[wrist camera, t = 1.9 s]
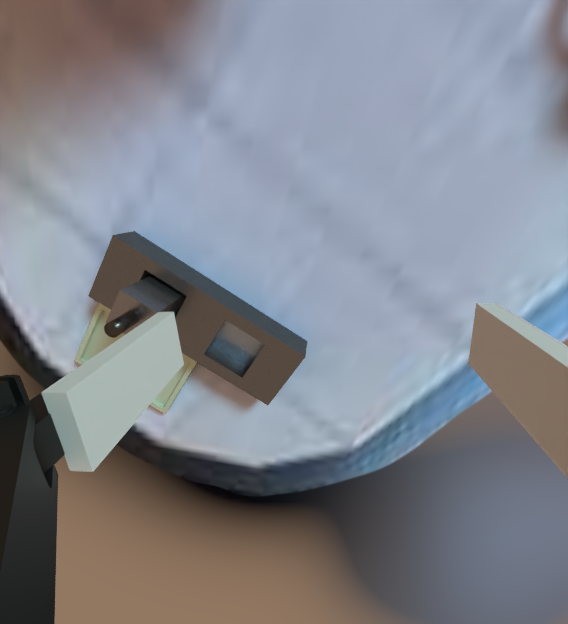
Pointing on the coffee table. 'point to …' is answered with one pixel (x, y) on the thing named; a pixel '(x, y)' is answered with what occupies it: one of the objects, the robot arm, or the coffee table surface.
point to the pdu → (196, 316)
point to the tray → (100, 340)
